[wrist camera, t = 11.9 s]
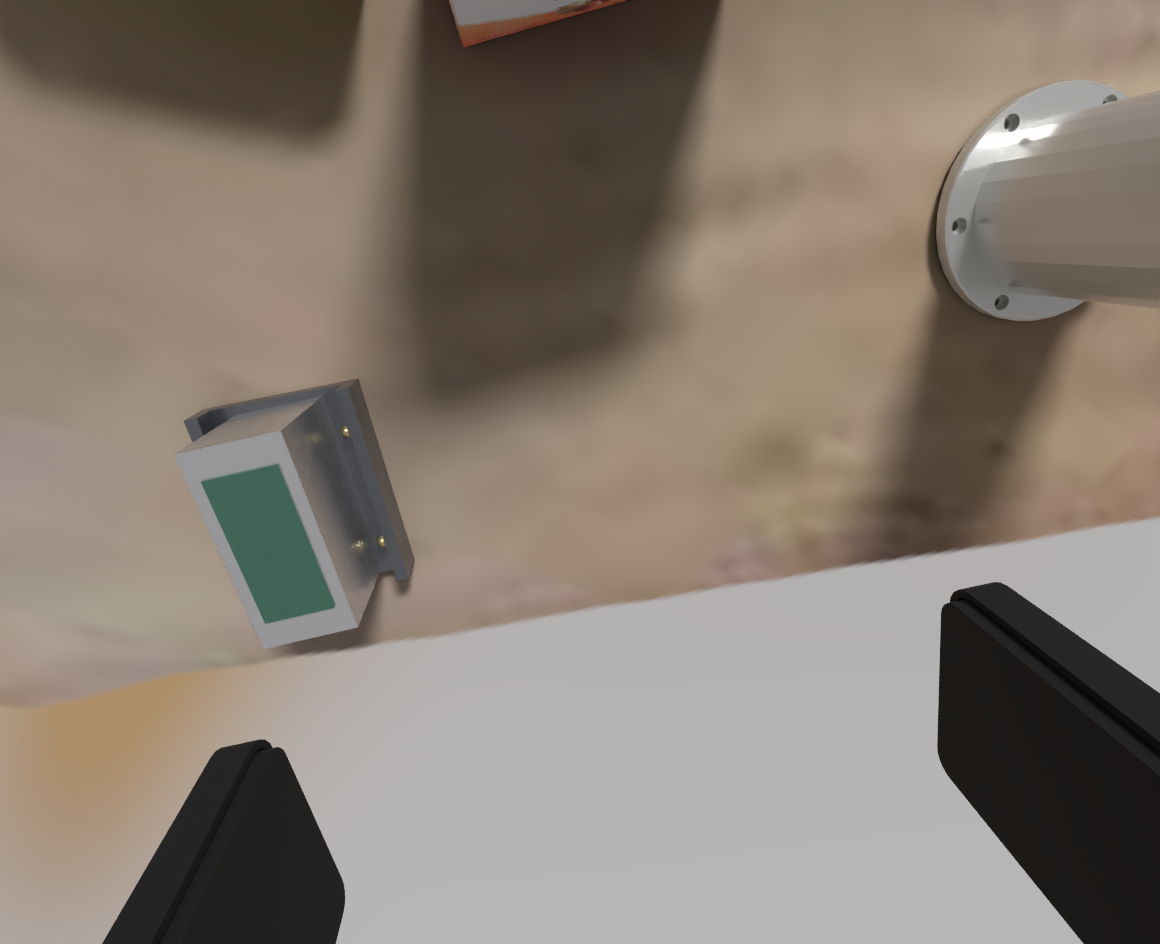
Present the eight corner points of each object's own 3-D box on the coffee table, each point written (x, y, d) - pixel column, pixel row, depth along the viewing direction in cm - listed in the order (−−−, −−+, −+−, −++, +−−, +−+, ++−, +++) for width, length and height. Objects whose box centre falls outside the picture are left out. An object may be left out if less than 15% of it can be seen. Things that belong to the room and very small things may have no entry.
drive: (322, 395, 36) (279, 431, 29) (383, 563, 40) (357, 628, 33) (235, 415, 36) (172, 455, 29) (304, 581, 40) (262, 650, 33)
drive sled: (358, 378, 37) (348, 388, 34) (414, 560, 41) (408, 578, 39) (203, 409, 36) (183, 420, 34) (276, 588, 41) (262, 609, 38)
